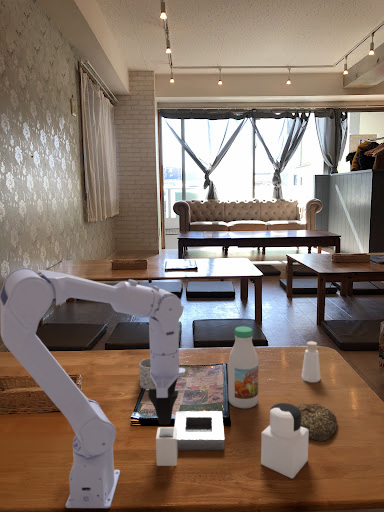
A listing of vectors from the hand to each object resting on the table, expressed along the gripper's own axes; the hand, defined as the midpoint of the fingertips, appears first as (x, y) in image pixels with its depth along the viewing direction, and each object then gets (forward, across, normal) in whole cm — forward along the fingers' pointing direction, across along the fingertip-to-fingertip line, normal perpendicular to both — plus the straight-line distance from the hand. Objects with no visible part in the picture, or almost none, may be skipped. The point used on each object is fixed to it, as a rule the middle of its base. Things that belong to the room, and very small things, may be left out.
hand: (166, 412), depth 83 cm
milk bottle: (+11, +23, -18) cm, 31 cm away
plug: (+10, 0, 0) cm, 11 cm away
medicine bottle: (+11, -1, -24) cm, 26 cm away
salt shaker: (+11, +36, -39) cm, 54 cm away
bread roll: (+11, +13, -33) cm, 37 cm away
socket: (+10, +8, -6) cm, 15 cm away
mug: (+11, +34, +8) cm, 36 cm away
